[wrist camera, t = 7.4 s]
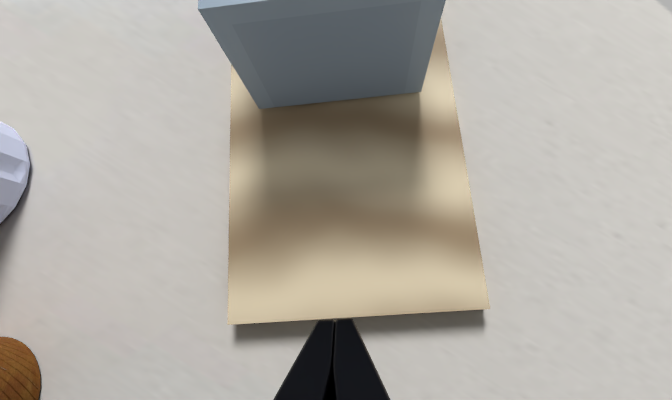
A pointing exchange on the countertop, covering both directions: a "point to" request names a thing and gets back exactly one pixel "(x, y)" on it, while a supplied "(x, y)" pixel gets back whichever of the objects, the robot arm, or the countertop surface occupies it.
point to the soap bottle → (12, 169)
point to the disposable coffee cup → (18, 371)
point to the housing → (325, 46)
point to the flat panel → (352, 206)
